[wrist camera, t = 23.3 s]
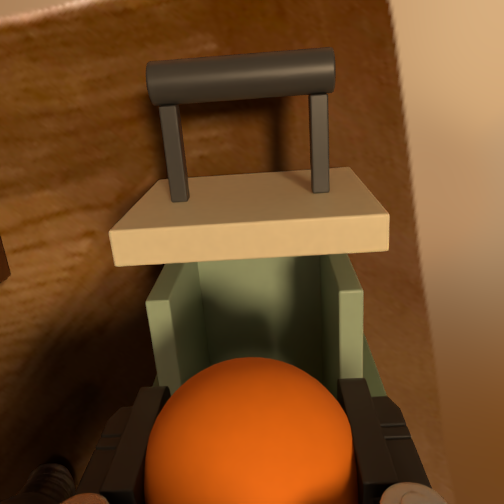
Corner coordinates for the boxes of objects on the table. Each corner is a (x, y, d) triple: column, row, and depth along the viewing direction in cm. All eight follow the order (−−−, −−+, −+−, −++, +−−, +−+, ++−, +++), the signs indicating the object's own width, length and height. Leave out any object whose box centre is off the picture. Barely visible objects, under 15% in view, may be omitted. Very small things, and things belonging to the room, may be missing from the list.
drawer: (142, 65, 20) (75, 63, 13) (349, 48, 19) (395, 37, 12) (191, 411, 26) (164, 534, 19) (350, 404, 25) (381, 528, 18)
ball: (177, 470, 15) (136, 660, 10) (154, 324, 13) (90, 471, 8) (344, 464, 14) (383, 656, 10) (343, 315, 13) (390, 460, 8)
